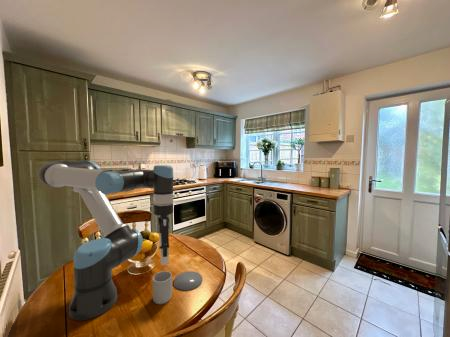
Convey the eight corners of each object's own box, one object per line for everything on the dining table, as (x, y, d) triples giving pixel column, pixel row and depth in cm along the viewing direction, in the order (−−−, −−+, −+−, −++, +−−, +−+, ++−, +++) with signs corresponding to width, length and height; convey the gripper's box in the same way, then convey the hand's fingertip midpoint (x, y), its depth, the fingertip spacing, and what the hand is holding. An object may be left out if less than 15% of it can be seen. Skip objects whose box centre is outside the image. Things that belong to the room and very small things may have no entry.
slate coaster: (175, 293, 79) (175, 292, 79) (172, 275, 91) (172, 274, 91) (205, 286, 83) (205, 285, 83) (198, 270, 95) (198, 269, 95)
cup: (150, 304, 73) (149, 282, 72) (159, 287, 83) (158, 267, 82) (168, 304, 73) (168, 282, 72) (175, 287, 83) (175, 267, 82)
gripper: (177, 210, 66) (177, 270, 67) (170, 197, 89) (170, 241, 90) (154, 212, 63) (154, 274, 64) (153, 198, 86) (153, 243, 87)
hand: (163, 255), depth 77 cm, fingers open, 13 cm apart
